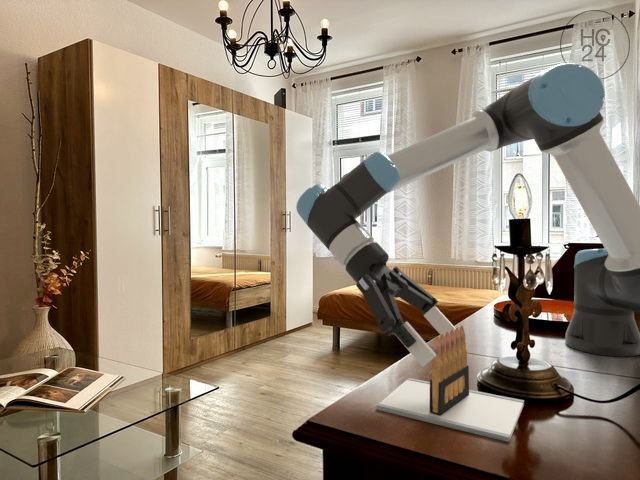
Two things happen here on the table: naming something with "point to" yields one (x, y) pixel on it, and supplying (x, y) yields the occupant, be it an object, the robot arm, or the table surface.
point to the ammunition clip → (449, 372)
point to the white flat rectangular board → (457, 410)
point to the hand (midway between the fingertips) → (443, 349)
